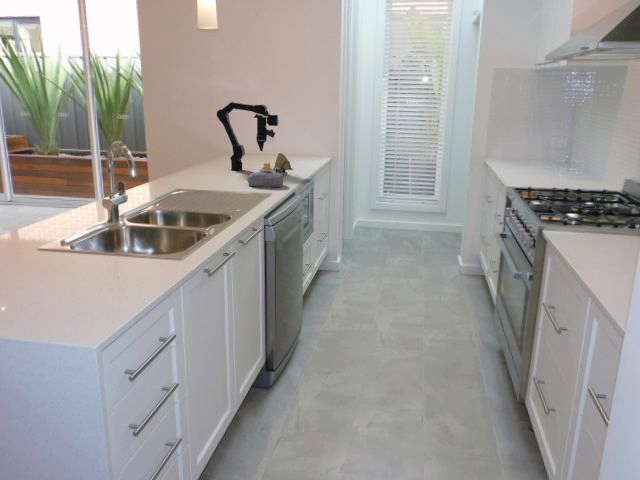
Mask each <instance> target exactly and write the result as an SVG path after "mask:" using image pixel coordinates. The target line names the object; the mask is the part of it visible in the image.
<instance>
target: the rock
mask: <svg viewBox="0 0 640 480" xmlns="http://www.w3.org/2000/svg"><path fill="white" fill-rule="evenodd" d="M286 160H287V161H288V164H287V165H286V166H285V168H286V170H287V169H292V166H291V162H290V161H289V160H288V158H287V157H286V156H285V155H284V154H283V153H282V152H280V153H278V155H277V156H276V160H275V162H274V167H273V168H280V167H281V166H282V164H283V163H284V161H286Z"/></svg>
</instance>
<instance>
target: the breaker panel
mask: <svg viewBox="0 0 640 480" xmlns="http://www.w3.org/2000/svg"><path fill="white" fill-rule="evenodd" d="M260 171H268V172H269V171H273V172H276V173H280V174H282V175H283V177H286V175H287V169H286V168H284V169H283V171H282V169H279V168H274V167H270V170H264V167H260ZM260 171H259V172H260Z"/></svg>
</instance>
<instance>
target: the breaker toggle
mask: <svg viewBox="0 0 640 480" xmlns="http://www.w3.org/2000/svg"><path fill="white" fill-rule="evenodd" d="M287 160H288V159H287ZM287 160H286V161H284V163H283V164H282V166H281V167H280V168H279V169H282V171H283V169H284V168H285V166H286V165H287V164H288V161H289V160H288V161H287Z"/></svg>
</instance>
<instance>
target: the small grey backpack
mask: <svg viewBox="0 0 640 480" xmlns="http://www.w3.org/2000/svg"><path fill="white" fill-rule="evenodd" d="M246 180H247V183H248V186H251V187H255V188H263V187H274V188H273V189H276V188H282V186H283V184H284V176H283V175H282V174H280V173H276V172H273V171H269V172H268V171H256V172H252V173H251V174H249V175H247V178H246Z"/></svg>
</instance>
